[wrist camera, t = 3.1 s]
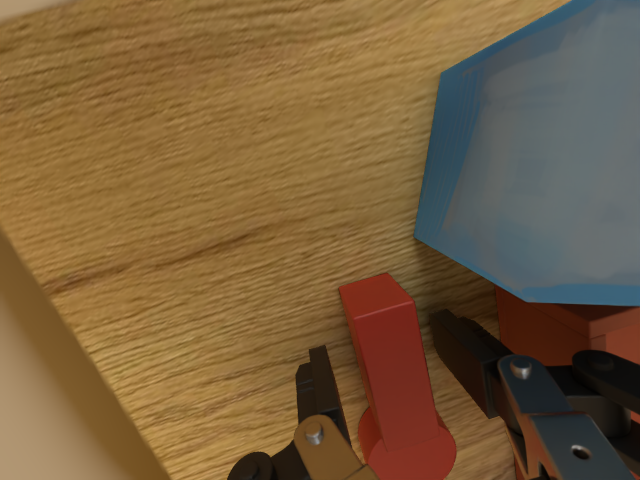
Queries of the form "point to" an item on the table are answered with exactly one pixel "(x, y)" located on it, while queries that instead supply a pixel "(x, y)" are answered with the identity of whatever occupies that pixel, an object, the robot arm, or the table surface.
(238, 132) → the table surface
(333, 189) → the table surface
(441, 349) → the robot arm
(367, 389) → the red spoon
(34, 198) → the table surface
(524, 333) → the terracotta bin
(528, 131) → the perfume bottle
